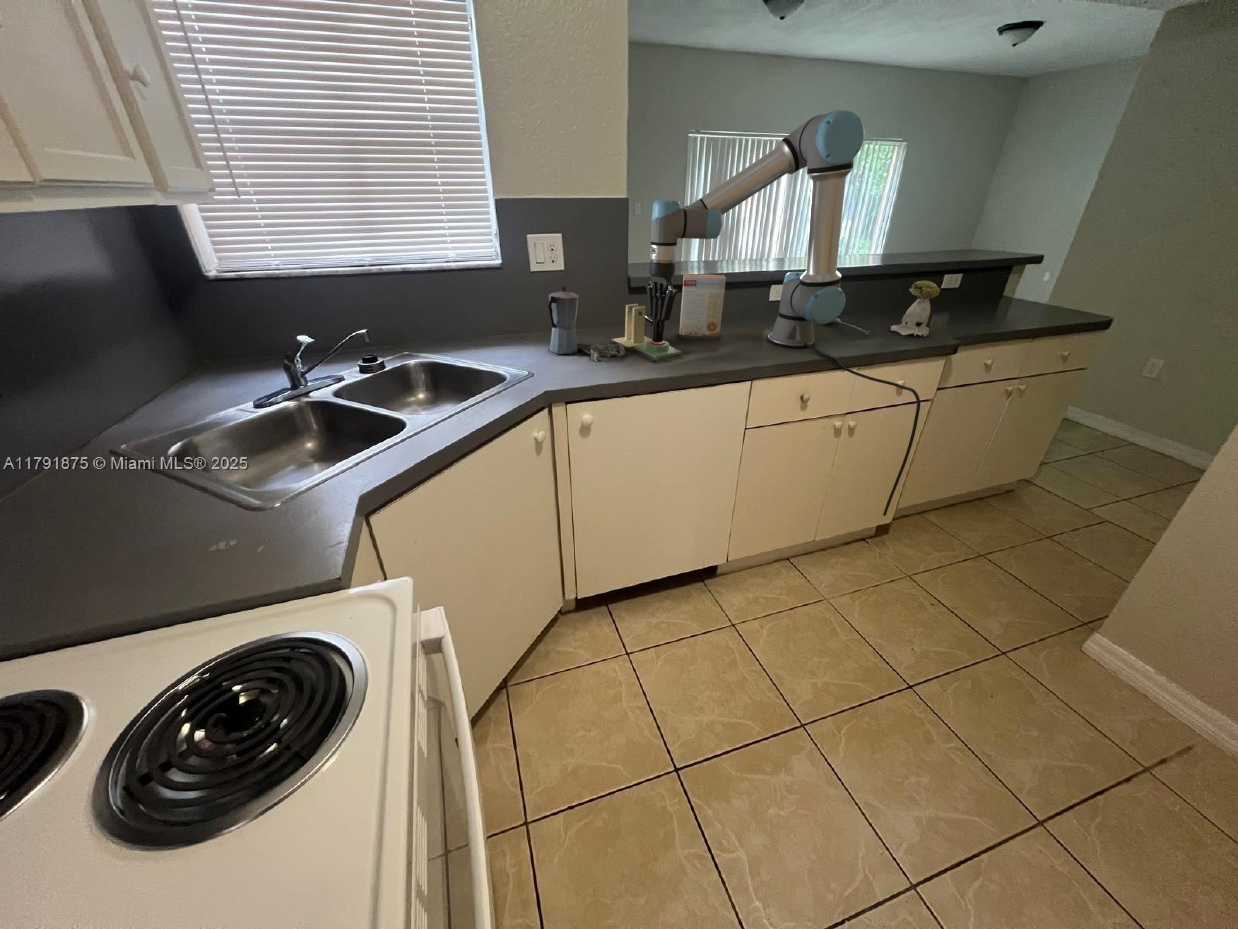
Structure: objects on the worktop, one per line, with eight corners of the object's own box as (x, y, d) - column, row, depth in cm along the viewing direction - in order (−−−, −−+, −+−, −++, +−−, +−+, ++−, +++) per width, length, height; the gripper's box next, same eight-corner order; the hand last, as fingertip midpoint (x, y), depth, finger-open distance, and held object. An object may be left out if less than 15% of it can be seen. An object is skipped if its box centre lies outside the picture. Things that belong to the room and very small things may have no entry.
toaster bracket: (640, 338, 170) (642, 300, 164) (657, 345, 163) (659, 307, 157) (611, 343, 165) (611, 304, 158) (627, 351, 158) (628, 311, 151)
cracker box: (717, 335, 175) (725, 274, 164) (719, 340, 170) (726, 277, 159) (678, 334, 176) (683, 272, 165) (678, 338, 171) (684, 276, 160)
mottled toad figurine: (590, 361, 148) (590, 348, 146) (590, 354, 155) (589, 341, 153) (625, 361, 149) (625, 348, 147) (623, 353, 155) (623, 341, 153)
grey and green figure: (908, 326, 191) (924, 277, 181) (936, 335, 180) (954, 283, 171) (884, 328, 187) (899, 278, 178) (911, 337, 177) (928, 284, 168)
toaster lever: (650, 327, 168) (653, 320, 167) (659, 330, 164) (662, 324, 164) (626, 311, 159) (630, 304, 159) (635, 314, 156) (638, 307, 155)
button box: (681, 358, 153) (682, 345, 151) (655, 363, 148) (656, 350, 146) (658, 347, 161) (659, 336, 159) (633, 352, 157) (634, 340, 155)
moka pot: (586, 346, 161) (585, 283, 151) (567, 360, 149) (565, 292, 138) (560, 343, 164) (558, 281, 154) (539, 356, 151) (535, 290, 141)
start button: (666, 348, 153) (666, 342, 152) (656, 350, 151) (656, 344, 150) (658, 345, 156) (659, 339, 155) (648, 346, 154) (649, 341, 153)
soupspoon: (828, 322, 197) (816, 324, 195) (830, 313, 196) (817, 315, 193) (873, 334, 180) (860, 336, 177) (875, 325, 178) (862, 327, 176)
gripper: (639, 258, 143) (636, 337, 155) (666, 264, 134) (660, 348, 146) (659, 257, 147) (655, 334, 159) (687, 263, 137) (680, 345, 149)
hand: (657, 341), depth 152 cm, fingers closed
